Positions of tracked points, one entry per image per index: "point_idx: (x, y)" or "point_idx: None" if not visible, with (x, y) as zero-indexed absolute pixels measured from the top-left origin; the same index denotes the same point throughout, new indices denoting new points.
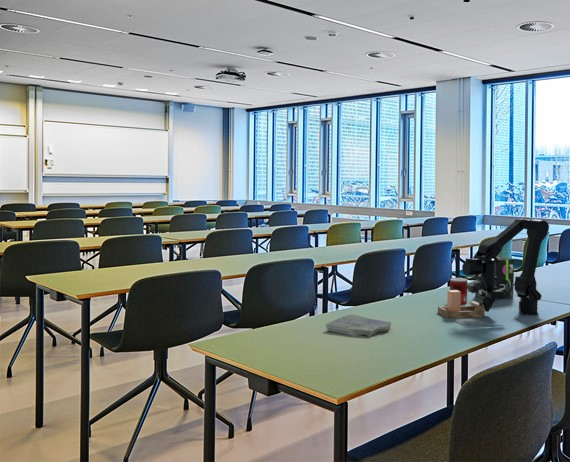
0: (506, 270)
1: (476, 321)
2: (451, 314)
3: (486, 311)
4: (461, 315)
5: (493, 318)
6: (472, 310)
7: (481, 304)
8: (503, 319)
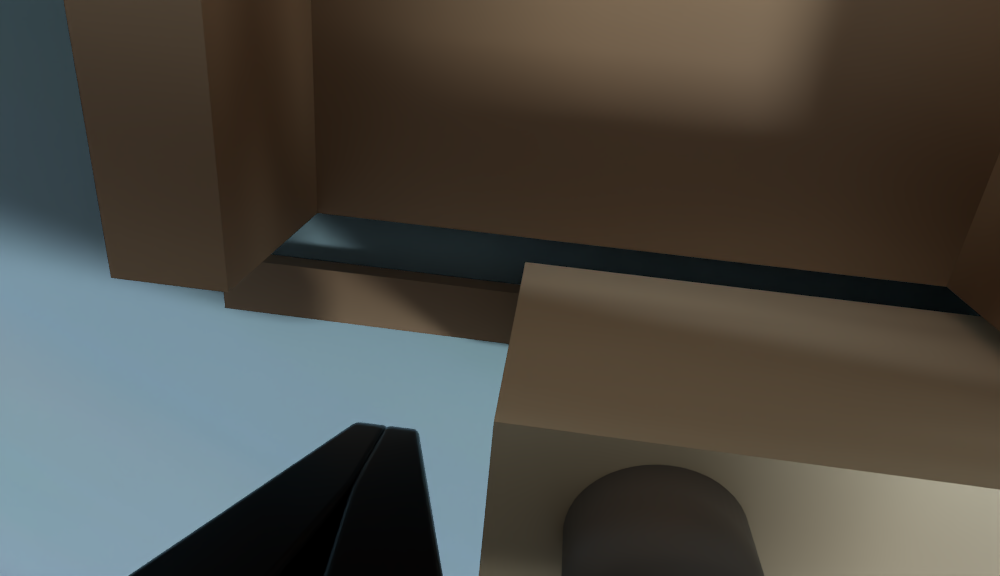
0: None
1: None
2: None
3: (354, 430)
4: None
5: (196, 391)
6: (992, 262)
7: (566, 551)
8: (93, 516)
